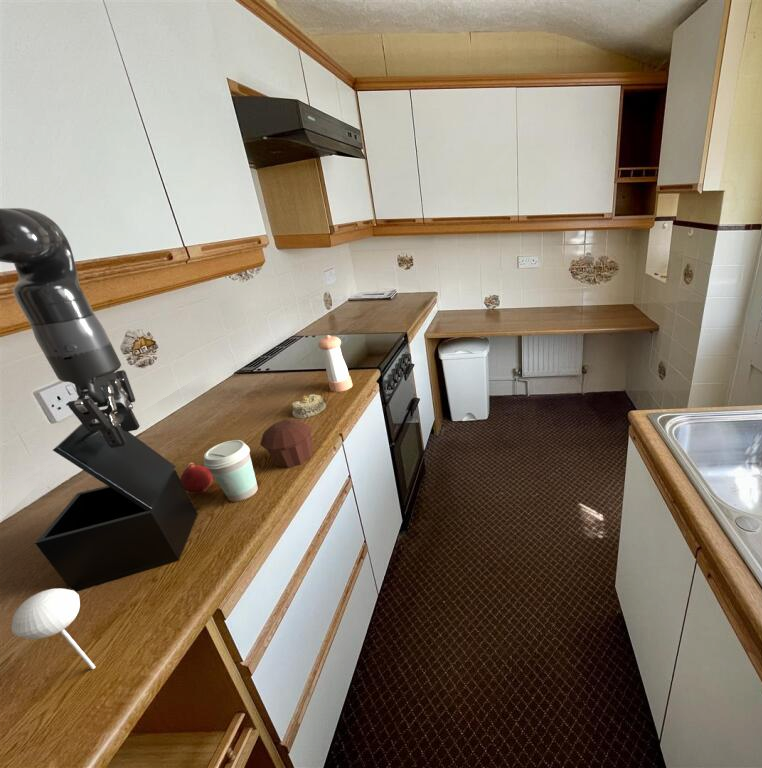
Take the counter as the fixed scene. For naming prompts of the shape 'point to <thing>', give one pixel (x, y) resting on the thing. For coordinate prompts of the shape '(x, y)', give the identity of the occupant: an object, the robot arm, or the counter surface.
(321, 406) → the cake
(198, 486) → the onion
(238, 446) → the coffee cup
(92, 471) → the bin lid
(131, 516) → the bin
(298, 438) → the muffin
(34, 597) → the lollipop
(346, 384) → the pepper shaker
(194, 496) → the counter surface
